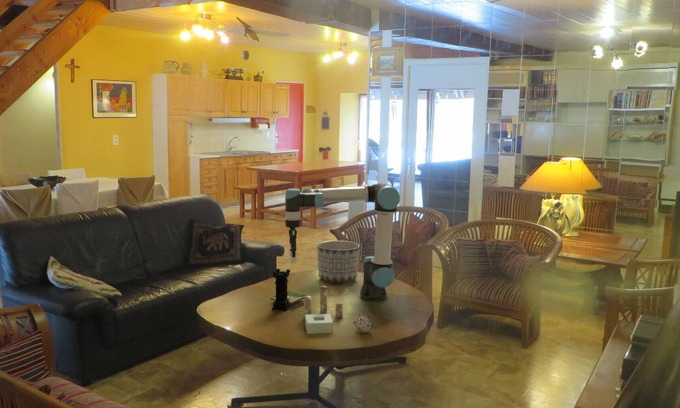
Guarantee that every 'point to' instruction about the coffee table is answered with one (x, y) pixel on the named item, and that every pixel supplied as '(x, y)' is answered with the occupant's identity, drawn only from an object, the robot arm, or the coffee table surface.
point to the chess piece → (281, 290)
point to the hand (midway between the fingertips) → (292, 259)
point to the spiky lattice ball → (362, 324)
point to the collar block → (318, 323)
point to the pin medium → (307, 305)
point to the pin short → (339, 310)
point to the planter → (338, 261)
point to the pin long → (323, 299)
